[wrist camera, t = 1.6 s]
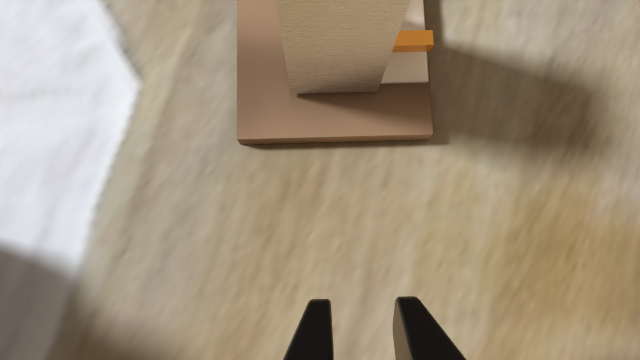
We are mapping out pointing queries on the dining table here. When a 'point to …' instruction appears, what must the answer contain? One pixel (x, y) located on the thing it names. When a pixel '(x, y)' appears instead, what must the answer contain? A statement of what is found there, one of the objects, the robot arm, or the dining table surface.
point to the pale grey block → (343, 42)
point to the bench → (325, 108)
